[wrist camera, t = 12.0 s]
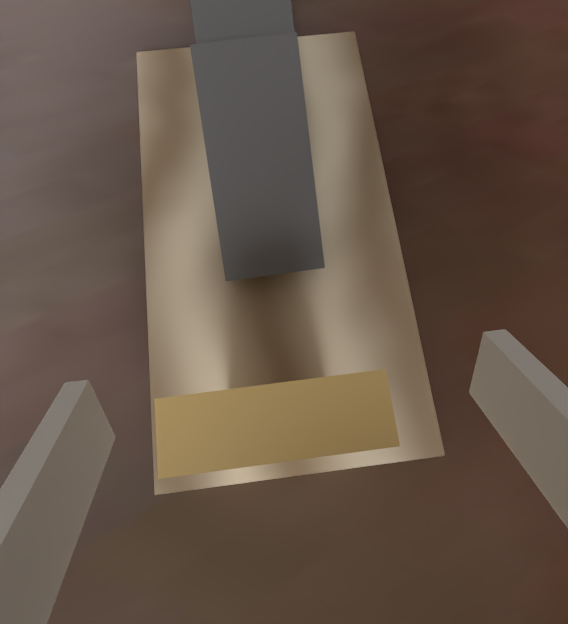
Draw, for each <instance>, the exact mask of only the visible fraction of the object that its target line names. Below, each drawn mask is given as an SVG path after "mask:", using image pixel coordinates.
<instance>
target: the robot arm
mask: <svg viewBox="0 0 568 624" xmlns="http://www.w3.org/2000/svg"><path fill="white" fill-rule="evenodd" d="M469 393H470V395H471V396H472V397H473V399H474V400H475V401H476V403H477V404H478V406H479V407H480V408H481V410H482V411H483V412H484V414H485V415H486V417H487V418H488V419H489V421H490V422H491V423H492V425H493V426H494V428H495V429H496V430H497V432H498V433H499V434H500V436H501V437H502V439H503V440H504V441H505V443H506V444H507V445H508V447H509V448H510V450H511V451H512V452H513V454H514V455H515V456H516V458H517V459H518V461H519V462H520V463H521V465H522V466H523V467H524V469H525V470H526V472H527V473H528V474H529V476H530V477H531V478H532V480H533V481H534V483H535V484H536V485H537V487H538V488H539V489H540V491H541V492H542V494H543V495H544V496H545V498H546V499H547V500H548V502H549V503H550V505H551V506H552V507H553V509H554V510H555V511H556V513H557V514H558V516H559V517H560V518H561V520H562V521H563V522H564V524H565V525H566V527H567V528H568V388H567V387H566V386H565V385H564V384H563V383H562V382H561V381H560V380H559V379H558V378H557V377H556V376H555V375H554V374H553V373H552V372H550V371H549V370H548V369H547V368H546V367H545V366H544V365H543V364H542V363H541V362H540V361H539V360H538V359H537V358H536V357H534V356H533V355H532V354H531V353H530V352H529V351H528V350H527V349H526V348H525V347H524V346H523V345H522V344H521V343H520V342H519V341H517V340H516V339H515V338H514V337H513V336H512V335H511V334H510V333H509V332H508V331H507V330H506V329H503V330H495V331H487V332H483V335H482V339H481V344H480V348H479V352H478V356H477V361H476V365H475V369H474V374H473V378H472V382H471V386H470V391H469ZM114 440H115V435H114V433H113V431H112V429H111V426H110V424H109V422H108V420H107V418H106V416H105V414H104V411H103V409H102V407H101V405H100V403H99V401H98V399H97V396H96V394H95V392H94V390H93V388H92V386H91V384H90V381H89V380H82V381H74V382H66V383H64V385H63V386H62V388H61V390H60V391H59V393H58V395H57V396H56V398H55V400H54V401H53V403H52V405H51V406H50V408H49V410H48V411H47V413H46V415H45V416H44V418H43V419H42V421H41V423H40V424H39V426H38V428H37V429H36V431H35V433H34V434H33V436H32V438H31V439H30V441H29V443H28V444H27V446H26V448H25V449H24V451H23V452H22V454H21V456H20V457H19V459H18V461H17V462H16V464H15V466H14V467H13V469H12V471H11V472H10V474H9V476H8V477H7V479H6V480H5V482H4V484H3V485H2V487H1V489H0V624H47V622H48V619H49V616H50V614H51V611H52V608H53V606H54V603H55V600H56V597H57V595H58V592H59V589H60V587H61V584H62V581H63V578H64V576H65V573H66V570H67V568H68V565H69V562H70V559H71V557H72V554H73V551H74V549H75V546H76V543H77V540H78V538H79V535H80V532H81V530H82V527H83V524H84V521H85V519H86V516H87V513H88V511H89V508H90V505H91V502H92V500H93V497H94V494H95V492H96V489H97V486H98V483H99V481H100V478H101V475H102V473H103V470H104V467H105V464H106V462H107V459H108V456H109V454H110V451H111V448H112V445H113V443H114Z"/></svg>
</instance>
